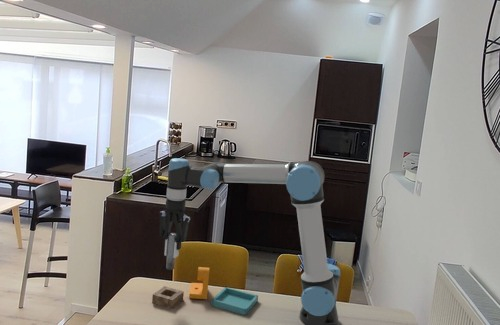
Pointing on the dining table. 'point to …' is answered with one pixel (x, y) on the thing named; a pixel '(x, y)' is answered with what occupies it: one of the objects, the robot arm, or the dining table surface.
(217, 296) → the tray
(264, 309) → the dining table surface
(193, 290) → the bracket
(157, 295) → the tan square sleeve
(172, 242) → the pin
